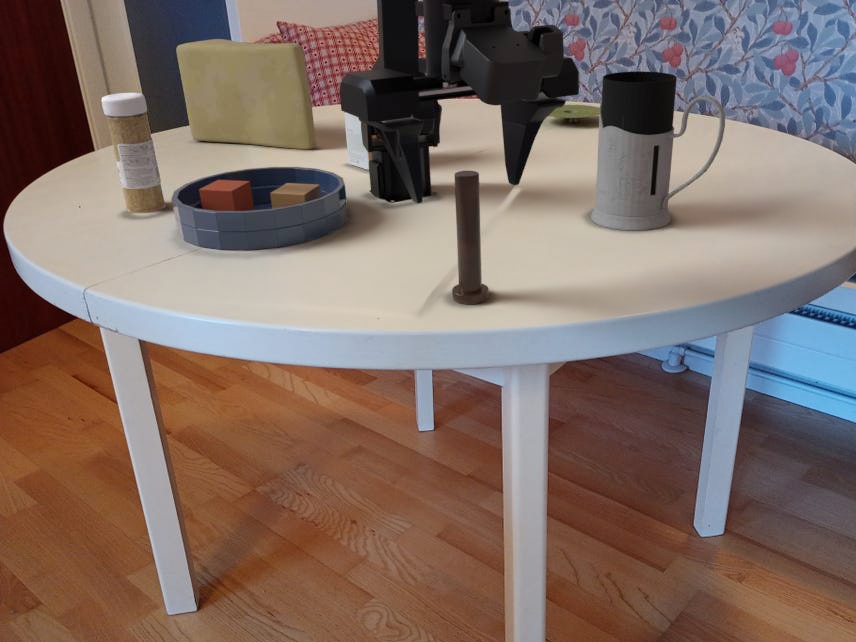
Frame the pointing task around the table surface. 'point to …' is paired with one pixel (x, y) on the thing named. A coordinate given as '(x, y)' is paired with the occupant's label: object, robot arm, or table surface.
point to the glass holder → (639, 149)
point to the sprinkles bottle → (134, 151)
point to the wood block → (294, 194)
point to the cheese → (247, 93)
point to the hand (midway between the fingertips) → (467, 193)
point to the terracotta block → (227, 196)
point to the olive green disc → (575, 112)
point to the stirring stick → (468, 240)
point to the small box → (356, 143)
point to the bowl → (262, 211)
